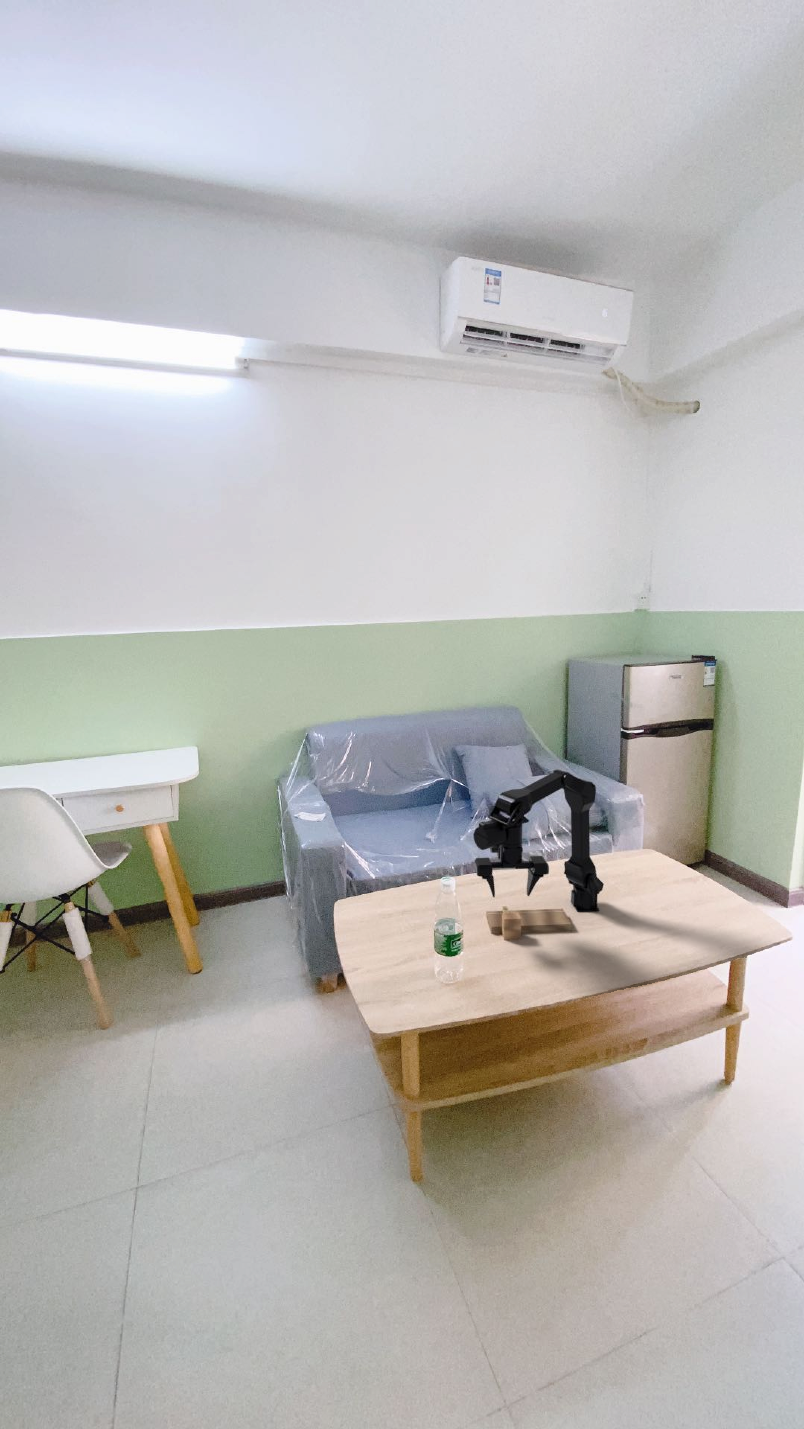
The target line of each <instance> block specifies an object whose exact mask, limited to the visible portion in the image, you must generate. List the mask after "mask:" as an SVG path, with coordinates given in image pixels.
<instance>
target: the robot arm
mask: <svg viewBox="0 0 804 1429" xmlns="http://www.w3.org/2000/svg"><path fill="white" fill-rule="evenodd" d="M596 787H597V786H596V784H594V783H593V782H592V781H590V780H585V779H582V778H579V777H577V776H574V775H573V774H571V773H570V772H568V771H565V770H562V769H554V770H553V771H551V773H549V774H547V775H546V776H543V777H541V778H540V779H538V780H536V781H533V783H530V784H528V785H527V786H525V787H522V788H517V789H515V788H513V789H508V790H505V791H502V792H501V793H500V794H499V795H498V796H497V799H496V800H495V803H494V805H493V806H492V808H491V810H490V812H489V814H488V816H487V818H488V819H489V820H488V821H487V820H486V821H481V822H478V827H476V828H474V829H475V830H474V832H473V840H474V843H475V845H476V847H477V848H478V850H482V851H485V850H488V849H490V850H489V851H490V853H492V854H495V853H496V855H497V858H498V860H499V861H494V862H493V861H492V860H491V859H490V858H489V857H476V858H475V859H474V862H473V863H474V870H475V873H476V876H477V877H481V878H482V880H486V882H487V884H488V885H489V889H490V892H491V895H492V898H495V896H496V889H495V881H494V880H495V878H494V875H493V871H498V870H502V871H503V870H527V881H526V895H527V897H530V895H531V894H532V891H533V889H534V888H535V886H536V884H537V883H538V881H539V880H540V879H541V878H544V876H545V875H548V874H550V866H549V863H548V862H547V860H546V859H545V857H544V856H543V855H530V856H528V860H523V852H524V849H523V825H524V824H527V823H529V822H530V819H528V818H527V817H526V815H527V814H528V813H529V812H530V811H531V810H532V807H533V806H534V805H535V804H537V802H540V801H542V800H543V799H545V798H547V797H549V796H551V795H552V794H554V793H556V792H558V791H559V790H561V789H562V790H563V793H564V798H565V802H566V803H567V804H568V807H569V808H570V826H571V827H570V830H571V831H570V832H571V834H570V835H571V836H570V837H571V838H570V839H571V841H570V842H571V856H569V858H568V860H565V861H564V863H563V864H564V871H563V874H564V875H565V877H566V879H567V881H568V884H569V885H573V886H572V889H571V891H570V895H571V896H570V899H571V900H570V903H571V905H572V906H573V908H574V909H575V911H576V912H577V913H590V912H591V913H593V912H597V913H598V912H600V908H599V907H598V896H599V894H600V892H602V891H603V888H604V885H605V884H604V883H603V882H602V880H600V878H599V877H598V876H597V870H596V865H595V863H594V861H593V860H592V858H591V855H590V854H591V852H590V850H591V848H590V846H591V845H590V843H591V842H590V840H591V839H590V809H591V807H593V804H594V803H596V802H595V801H596V794H597V788H596ZM502 814H504V816H503V815H502ZM506 816H508V817H506Z"/></svg>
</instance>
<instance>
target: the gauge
mask: <svg viewBox="0 0 804 1429" xmlns="http://www.w3.org/2000/svg"><path fill="white" fill-rule="evenodd" d="M502 911H503V913H502V933H501V935H502V938H503V940H504V941H515V940H516V941H517V940H522V932H521V917H520V915H519V913H509V912H508V911H509V909H508V906H502Z"/></svg>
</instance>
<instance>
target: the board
mask: <svg viewBox="0 0 804 1429" xmlns="http://www.w3.org/2000/svg"><path fill="white" fill-rule="evenodd" d="M508 912H509V913H519V915H520V917H521V933H541V932H542V933H545V932H547V933H549V932H572V931H573V930H572V929H573V926H572V925H573V924H572V922H571V920H570V919H569V917H568V915H567V914H566V912H565V910H564V908H544V909H543V908H542V909H518V910H516V909H514V910H508ZM502 913H503V910H490V911H487V910H486V916H485V917H486V920H487V924H488V927H489V931H490V933H491V934H493V935H494V934H502Z"/></svg>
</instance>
